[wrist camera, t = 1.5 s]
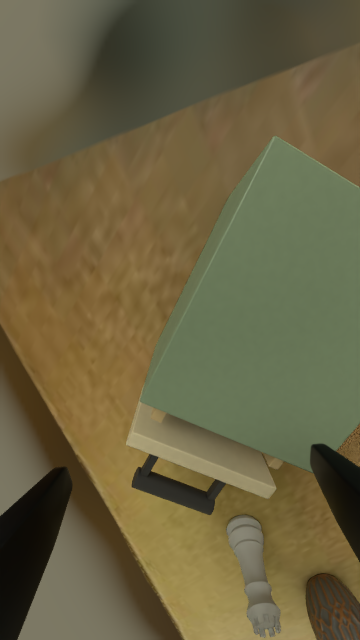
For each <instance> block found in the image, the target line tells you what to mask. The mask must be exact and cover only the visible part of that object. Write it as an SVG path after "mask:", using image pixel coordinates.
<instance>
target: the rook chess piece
mask: <svg viewBox="0 0 360 640" xmlns="http://www.w3.org/2000/svg"><path fill="white" fill-rule="evenodd" d="M226 531H227V535H228V536H229V538H228V539H229V544H230V547H231V548H232V549H233V551H234V553H235V555H236V557H237V558H238V561H239V563H240V567H241V570H242V574H243V577H244V582H245V589H244V590H245V594H246V595H247V596H248V600H249V605H248V609H247V617H248V619H249V620H250V621H251V623H252V624H253V629H254V633H255V634H256V635H258V634H259V633H260V637H264V638H265V637H266V635H265V631H264V629H268V630H269V634H270V637H273V636H275V633H274V629H273V627H275V629H276V633H280V631H281V629H280V628H281V626H280V622H279V619H280V609H279V608H278V606H277V605H276V604H275V602H274V601H273V599H272V596H271V591H272V588H271V586H270V584H269V583H268V580H267V577H266V573H265V567H264V561H263V554H262V553H263V545H264V538H263V534H262V532H261V525H260V524H259V522H258V521H257V520H256V519H255V518H253V517H251V516H248V515H239V516H236V517H234V518H233V519H231V520H230V522H229V524H228V526H227V529H226ZM258 629H259V632H258Z"/></svg>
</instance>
